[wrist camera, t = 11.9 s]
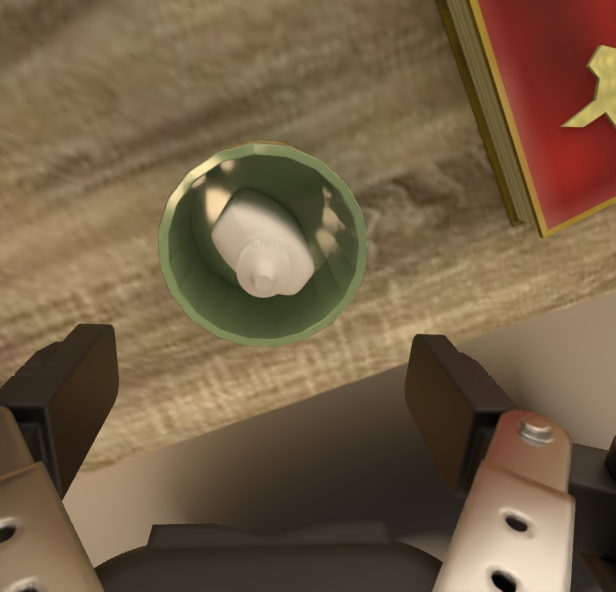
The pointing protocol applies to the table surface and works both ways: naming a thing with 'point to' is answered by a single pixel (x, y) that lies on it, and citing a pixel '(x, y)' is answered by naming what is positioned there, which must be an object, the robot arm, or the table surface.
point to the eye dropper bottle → (263, 245)
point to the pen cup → (222, 278)
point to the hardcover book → (542, 101)
